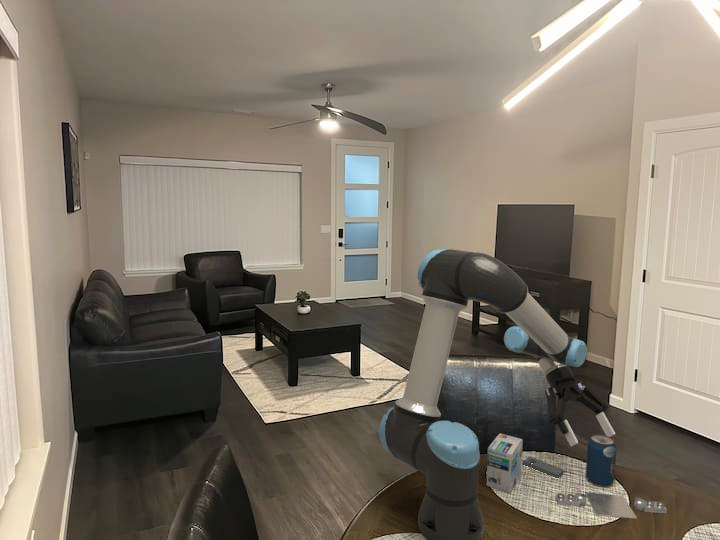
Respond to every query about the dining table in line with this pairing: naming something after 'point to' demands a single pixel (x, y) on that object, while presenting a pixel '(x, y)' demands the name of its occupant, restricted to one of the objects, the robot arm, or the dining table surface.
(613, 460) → the soda can
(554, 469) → the bracket
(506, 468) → the light bulb box
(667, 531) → the dining table surface
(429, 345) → the robot arm
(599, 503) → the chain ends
